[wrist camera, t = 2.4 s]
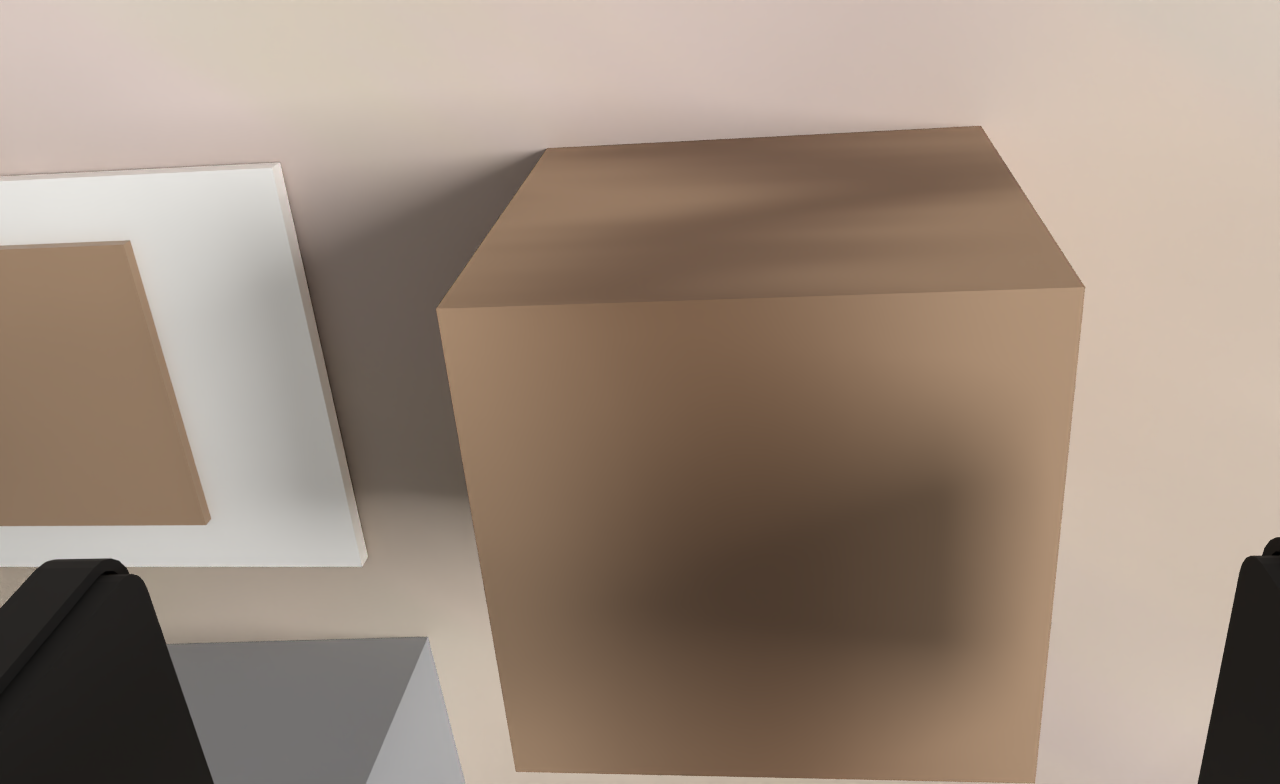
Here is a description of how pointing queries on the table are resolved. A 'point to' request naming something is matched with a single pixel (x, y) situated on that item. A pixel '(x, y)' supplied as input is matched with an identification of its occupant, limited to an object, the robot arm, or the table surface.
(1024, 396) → the walnut cube
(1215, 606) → the table surface
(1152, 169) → the table surface
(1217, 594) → the table surface
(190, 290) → the card
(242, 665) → the slate base block
